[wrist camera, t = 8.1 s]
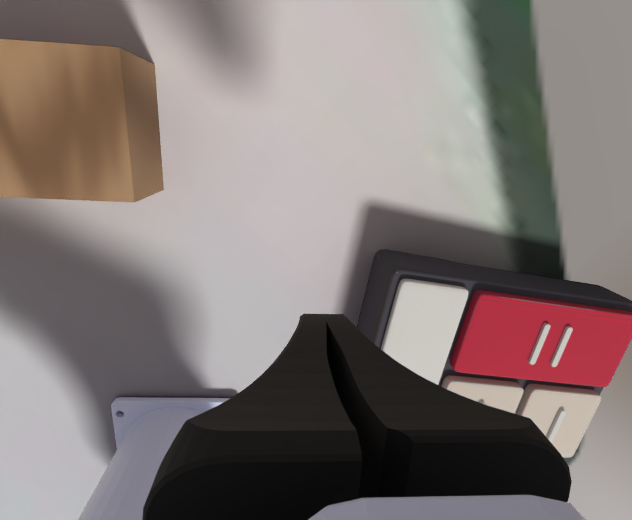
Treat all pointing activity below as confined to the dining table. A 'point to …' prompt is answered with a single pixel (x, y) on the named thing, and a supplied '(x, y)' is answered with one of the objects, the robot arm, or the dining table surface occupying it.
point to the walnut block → (77, 123)
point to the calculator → (500, 337)
